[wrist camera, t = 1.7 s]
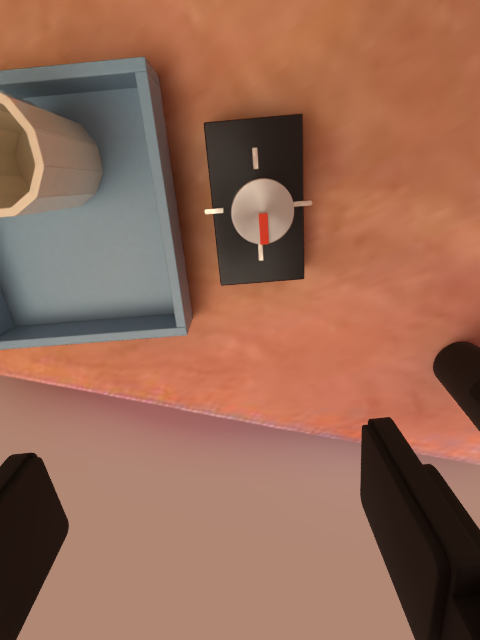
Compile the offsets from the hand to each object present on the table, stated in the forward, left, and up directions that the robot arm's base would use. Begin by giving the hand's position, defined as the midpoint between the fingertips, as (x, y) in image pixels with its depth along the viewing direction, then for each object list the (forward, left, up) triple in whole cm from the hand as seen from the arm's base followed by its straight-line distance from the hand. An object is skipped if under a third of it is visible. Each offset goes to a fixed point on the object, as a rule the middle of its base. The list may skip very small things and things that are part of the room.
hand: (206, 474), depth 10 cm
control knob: (-6, +3, -20) cm, 21 cm away
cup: (-10, -12, -22) cm, 28 cm away
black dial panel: (-6, +3, -23) cm, 24 cm away
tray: (-6, -12, -23) cm, 27 cm away
